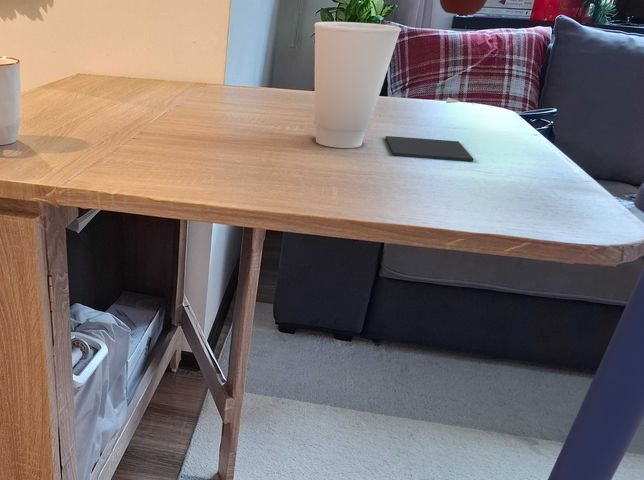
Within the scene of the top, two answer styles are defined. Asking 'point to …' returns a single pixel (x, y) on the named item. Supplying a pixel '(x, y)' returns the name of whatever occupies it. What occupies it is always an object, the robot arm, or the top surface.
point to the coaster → (428, 148)
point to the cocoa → (462, 6)
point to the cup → (349, 78)
